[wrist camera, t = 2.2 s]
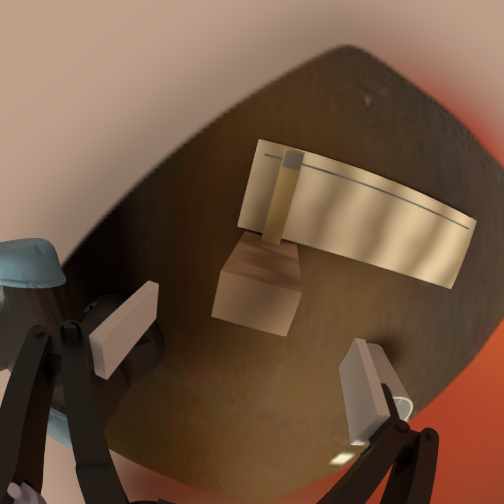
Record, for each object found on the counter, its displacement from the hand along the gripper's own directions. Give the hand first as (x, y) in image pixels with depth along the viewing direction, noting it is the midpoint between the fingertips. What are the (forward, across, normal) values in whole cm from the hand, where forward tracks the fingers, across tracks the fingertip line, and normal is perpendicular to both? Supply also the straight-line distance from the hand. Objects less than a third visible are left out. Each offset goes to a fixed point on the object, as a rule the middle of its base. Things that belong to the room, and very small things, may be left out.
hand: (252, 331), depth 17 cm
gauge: (+17, 0, +5) cm, 18 cm away
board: (+17, +11, +7) cm, 22 cm away
